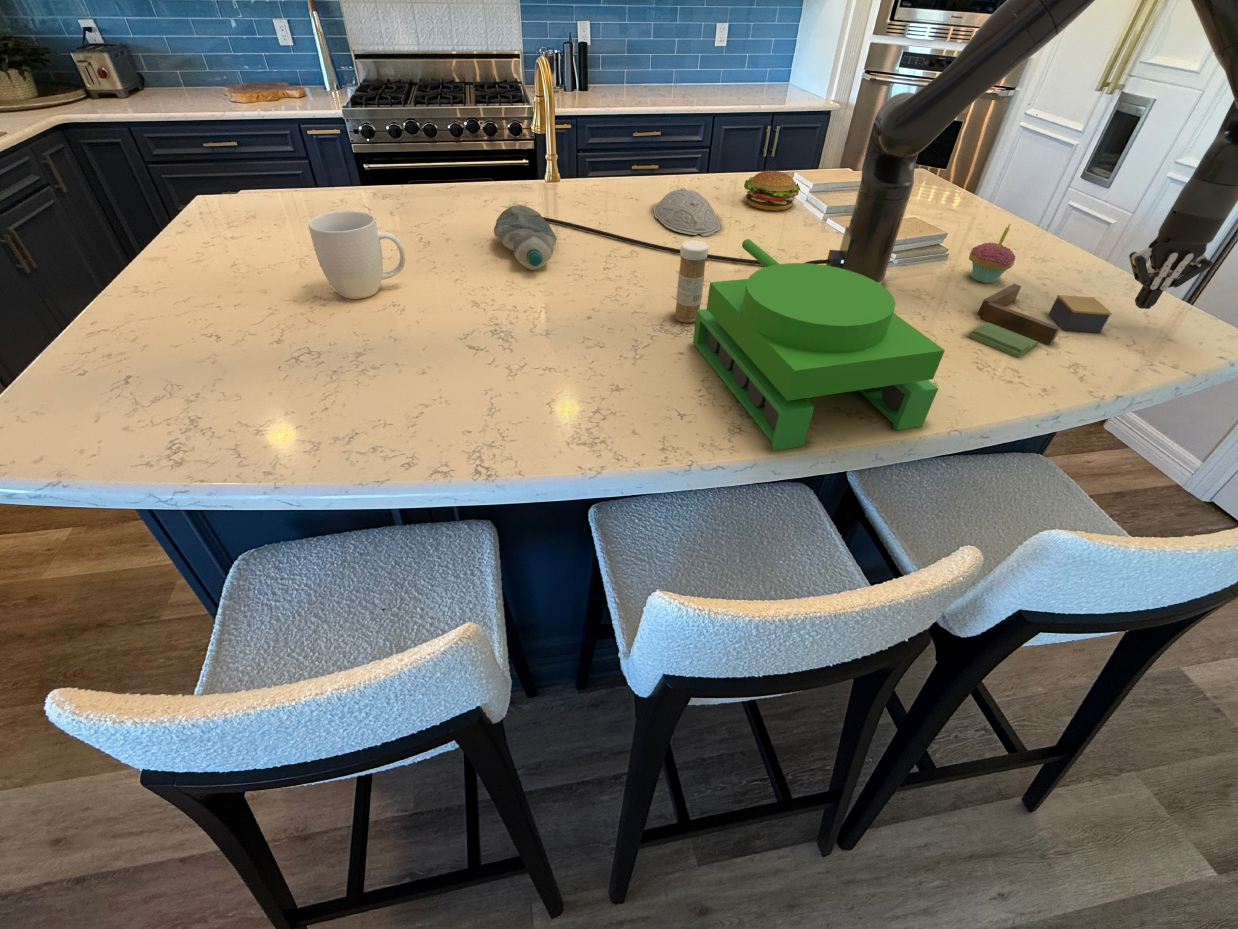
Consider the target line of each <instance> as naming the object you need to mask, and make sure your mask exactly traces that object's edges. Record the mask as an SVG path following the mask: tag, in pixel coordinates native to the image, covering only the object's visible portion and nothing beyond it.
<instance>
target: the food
mask: <svg viewBox="0 0 1238 929" xmlns="http://www.w3.org/2000/svg"><path fill="white" fill-rule="evenodd" d="M743 184H744V185H743V187H744V189H745V190H747V191H746V193H747V194H746V195H745V198H746V201H747V203H748V204H749V205H750V206H752V207H753V208H756V209H760V210H764V211H771V212H772V211H773V212H777V211H785V210H788V209H790V208H791V207H792V206H793V202H794V201H795V198H796V197H797V196H798V195H799V193H800V192H799V191H801V187H800V185H799V184H798V183H797V182H796V181H795V180H794V178H793V177H792V176H791V175H789V174H788V173H785V172H784V171H780V170H765V171H761V172H758V173H757V174H755V175H754V176H750V177H749V179H746V180H744V183H743Z"/></svg>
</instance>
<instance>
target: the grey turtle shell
mask: <svg viewBox="0 0 1238 929" xmlns="http://www.w3.org/2000/svg"><path fill="white" fill-rule="evenodd" d="M653 215H654V217H655V218H656V220H659V222H660V224H663V226H664V227H665V228H667V229H669V230H671V231H674V232H678V233H681V234H686V235H691V236H697V235H698V234H699V235H701V236H702V237H708V236H710V235H713V234H714V233H715V232H718V231H720V229H721V226H720V224H719V220H718V218H717V215H716V214H715V211H714V209H713V207H712V205H711V204H710V202H709V201H708V199H706V198H705V197H704V196H702V195H701V193H700V192H698V191H695V190H692V189H686V188H684V187H681V188H679V189H674V190H672V191H670V192H668V193H666V195H665V194H664V197H662V198H661V200H660V201H659V202H658V203H657V204H656V205H654V207H653Z"/></svg>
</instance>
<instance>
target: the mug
mask: <svg viewBox="0 0 1238 929" xmlns="http://www.w3.org/2000/svg"><path fill="white" fill-rule="evenodd" d="M307 226H308V230H309V234H310V237H311V241H312V245H313V248H314V252H315V255H316V258H317V262H318V263H319V267H320V268H321V270H322V273H323V275H324V276H325V278H326V280H327V281H328V282H329V284H330V286H331V287H332V288H333V289H334V290H335V291H336V292H337V294H339V295H340V296H341V297H343V298H344V299H345V298H346V299H349V300H360V299H366V298H370V297H372V296H373V295H375V294H376V293H378V291H379V288H380V286H381V282H382V281H384V280H388V279H390V278H393V277H395V276H397V275H398V274H400V273H401V272H402V271H403V269H404V267H405V264H406V251H405V248H404V246H403V244H402V242H401V240H400V239H399V238H398V237H397V236H396V235H394V234H393V233H391V232H388V231H383V230H382V231H379V230H378V226H377V221H376V218H375V216H374V215H373V214H371V213H368V212H364V211H360V210H337V211H329V212H326V213H322V214H318V215H315V216H313V217H311V219H310V220H309V221H308V223H307ZM385 239H386V240H390V241H392V242H393V243H394V244H395V245H396V247H397V249H398V251H399V262H398V265H397V266H396V267H395V268H394V269H392V270H391V271H388V272H383V270H384V261H383V252H382V245H381V240H385Z"/></svg>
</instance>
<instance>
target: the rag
mask: <svg viewBox="0 0 1238 929" xmlns="http://www.w3.org/2000/svg"><path fill="white" fill-rule="evenodd" d="M967 338H970V339H971V340H974V341H976V342H979V343H981V344H984V345H987V346H989V347H991V348H994V349H997V350H998V351H1000V352H1003V353H1006V354H1008V355H1011V356H1013V357H1016V358H1019V357H1021V356H1022V355H1024V354H1026V353H1028V352H1029V351H1031V349H1033V348H1035V347H1036V346H1037V345H1038V344H1039V341H1037V340H1034V339H1032V338H1029V337H1027V336H1024V335H1022V334H1019V333H1016V332H1014V331H1011V330H1009V329H1006V328H1003V327H1001V326H998V325H996V324H993V323H991V322H988V321H986V323H984V324H982V325H980V326H977V327H976V328H974V329H973V330H971V331H970V332H968V334H967Z"/></svg>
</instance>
